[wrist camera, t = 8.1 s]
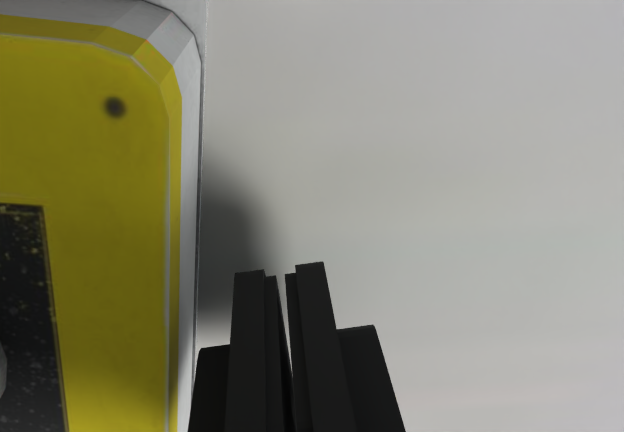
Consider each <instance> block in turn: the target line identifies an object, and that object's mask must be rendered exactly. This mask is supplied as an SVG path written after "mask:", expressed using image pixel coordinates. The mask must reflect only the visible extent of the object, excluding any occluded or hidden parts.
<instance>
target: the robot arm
mask: <svg viewBox="0 0 624 432" xmlns="http://www.w3.org/2000/svg"><path fill="white" fill-rule="evenodd" d="M295 269H296V273H290V274H285V283H286V296H287V309H288V322H289V335H290V348H291V361H292V371H291V364H290V358H289V352H288V346H287V339H286V333H285V327H284V321H283V314H282V308H281V302H280V296H279V289H278V283H277V278H276V275H275V276H268V277H266V275H265V271H264V269H263V270H255V271H248V272H240V273H235V277H234V292H233V307H232V322H231V337H230V344H228V345H221V346H214V347H207V348H201V349H200V351H199V354H198V360H197V367H196V374H195V381H194V388H193V396H192V403H191V410H190V417H189V424H188V432H406V431H405V428H404V424H403V421H402V417H401V414H400V411H399V407H398V404H397V400H396V397H395V393H394V390H393V387H392V383H391V380H390V376H389V373H388V369H387V366H386V363H385V359H384V356H383V352H382V349H381V345H380V342H379V339H378V335H377V332H376V329H375V327H374V325H367V326H360V327H352V328H345V329H338V330H337V329H336V324H335V319H334V314H333V309H332V303H331V298H330V293H329V288H328V283H327V278H326V273H325V267H324V263H323V262H315V263H308V264H300V265H295ZM292 374H293V377H292Z"/></svg>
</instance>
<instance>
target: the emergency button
mask: <svg viewBox="0 0 624 432" xmlns="http://www.w3.org/2000/svg"><path fill="white" fill-rule="evenodd" d="M207 4H208V0H0V432H188V424H189V417H190V410H191V403H192V396H193V388H194V381H195V367H196V337H197V307H198V276H199V246H200V216H201V185H202V155H203V125H204V95H205V64H206V34H207Z"/></svg>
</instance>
